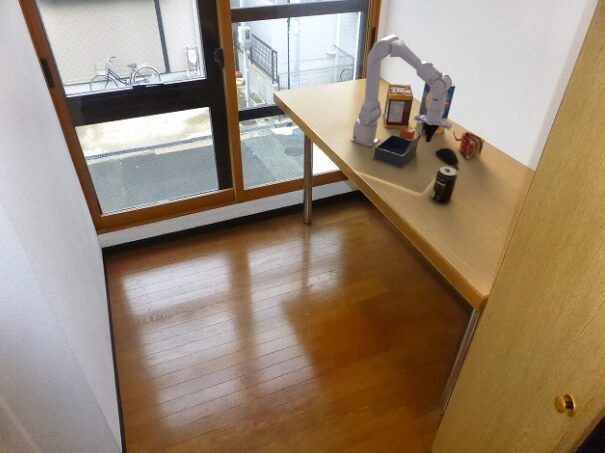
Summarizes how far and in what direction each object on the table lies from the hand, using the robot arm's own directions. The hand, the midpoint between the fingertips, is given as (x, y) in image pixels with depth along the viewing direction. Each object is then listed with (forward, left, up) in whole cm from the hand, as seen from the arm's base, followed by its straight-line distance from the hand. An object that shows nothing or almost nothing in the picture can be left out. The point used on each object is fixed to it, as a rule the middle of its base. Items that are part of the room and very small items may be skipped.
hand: (428, 141), depth 170 cm
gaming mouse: (+8, +7, -9) cm, 14 cm away
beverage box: (-9, +29, -9) cm, 31 cm away
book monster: (+11, +16, -9) cm, 21 cm away
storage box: (-11, -4, -9) cm, 15 cm away
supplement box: (-26, +28, -9) cm, 39 cm away
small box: (-13, +11, -9) cm, 19 cm away
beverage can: (+16, -23, -9) cm, 30 cm away
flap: (-4, -4, 0) cm, 6 cm away
